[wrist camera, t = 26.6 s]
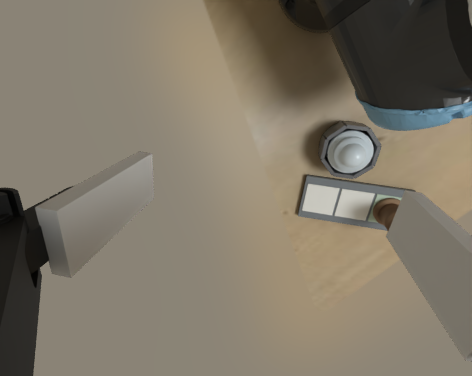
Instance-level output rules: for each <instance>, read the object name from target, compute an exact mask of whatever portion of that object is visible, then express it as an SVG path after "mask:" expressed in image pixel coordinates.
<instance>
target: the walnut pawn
mask: <svg viewBox="0 0 472 376" xmlns="http://www.w3.org/2000/svg"><path fill="white" fill-rule="evenodd" d="M399 204H400V200H399V199H396V198H385V199H382V200H380V201H379V202H378V203H376V205H375V206H374V208H373V216H374V218H375V219H376V221H377V222H378V223H380V224H381V225H384V226H385V227H386V229H387V230H388V231H389V228H390V226H391V224H392V221H393V219H394V216H395V214H396V211H397V209H398V206H399Z"/></svg>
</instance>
